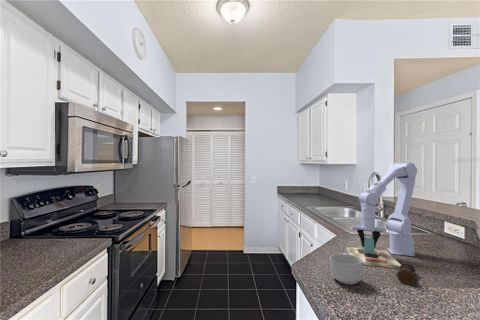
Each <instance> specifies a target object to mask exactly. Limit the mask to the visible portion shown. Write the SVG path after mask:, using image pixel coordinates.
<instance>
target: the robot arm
mask: <svg viewBox="0 0 480 320" xmlns="http://www.w3.org/2000/svg"><path fill="white" fill-rule="evenodd" d="M417 173H418V168H417V167H416V165H415V163H413V162H400V163H399V162H394V163H392V164H391V165H390V166H389V167H388V171H386V172H385V174H384V175H383V177H382V178H381V179H380V180H379V181H374V182H373V183H372V185H371V186H370V187H369V188H368V189H366V191H364V192H361V193H359V197H358V198H357V199H358V202H359V203H360V208H361V212H360V213H361V225H350V227H351V228H350V230H351V231H356V233H357V234H358V237H359V239H360V243H361V248H362V247H364V237H365V233H364V232H371V234H372V235H371V236H372V238H373V239H374V249H376V246H377V242H378V240H379V239H380V237H381V233H382V234H387V232H388V234H389V247H388V248H387V247H386V251H387V252H388V253H389V252H390V253H389V254H391V255H400V256H407V257H409V256H410V257H416V255H415V243H414V242H415V240H414V238H413V235H410V234H411V232H412V220H411V219H410V218H409V216H408V214H409V209H410V205H411V202H412V201H411V200H412V197H413V193H414V187H415V184H416V178H417ZM394 179H397V180H398V181H399V182H400V187H399V191H398V194H397V200H396V204H395V208H394V211H393V213H391V214H390V215H388V218H387V220H386V221H385V223H384V225H385V227H378V226H376V205H377V204H378V202H379V198H380V197H381V195H383V194H384V192H385V191H387V186H388V185H389V184H390V183H392V181H393V180H394Z"/></svg>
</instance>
